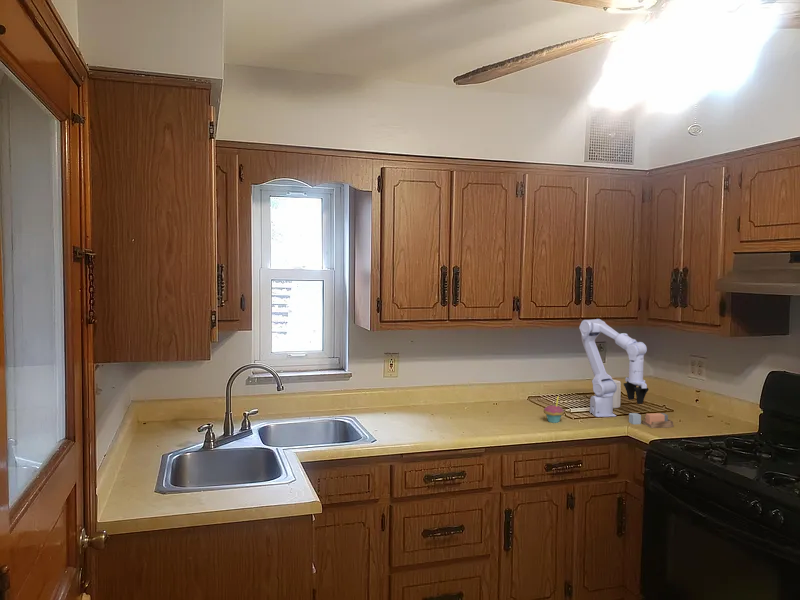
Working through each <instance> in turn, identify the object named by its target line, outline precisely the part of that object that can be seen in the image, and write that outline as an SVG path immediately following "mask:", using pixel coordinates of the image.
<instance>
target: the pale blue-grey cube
mask: <svg viewBox="0 0 800 600" xmlns="http://www.w3.org/2000/svg"><path fill="white" fill-rule="evenodd" d="M641 421H642V415H641V414H640V413H637V412H630V413H628V423H630V424H631V425H642V423H641Z"/></svg>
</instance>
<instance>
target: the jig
mask: <svg viewBox="0 0 800 600" xmlns="http://www.w3.org/2000/svg"><path fill="white" fill-rule="evenodd" d="M641 424H642V425H644V426H647V427H649V428H651V429H659V428H660V429H661V428H663V429H664V428H674V427H675V425H674V421H673V420H670V419H668V421H661V422H652V424H649V423H647V422H646V417H644V419H643V420H642V419H641Z"/></svg>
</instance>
